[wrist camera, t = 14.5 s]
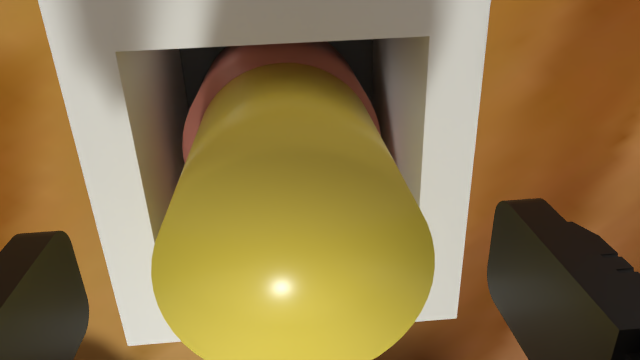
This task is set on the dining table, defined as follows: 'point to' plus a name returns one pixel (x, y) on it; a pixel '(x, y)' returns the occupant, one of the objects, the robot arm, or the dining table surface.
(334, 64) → the button
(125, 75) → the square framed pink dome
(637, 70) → the dining table surface
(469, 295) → the dining table surface
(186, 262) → the cap
